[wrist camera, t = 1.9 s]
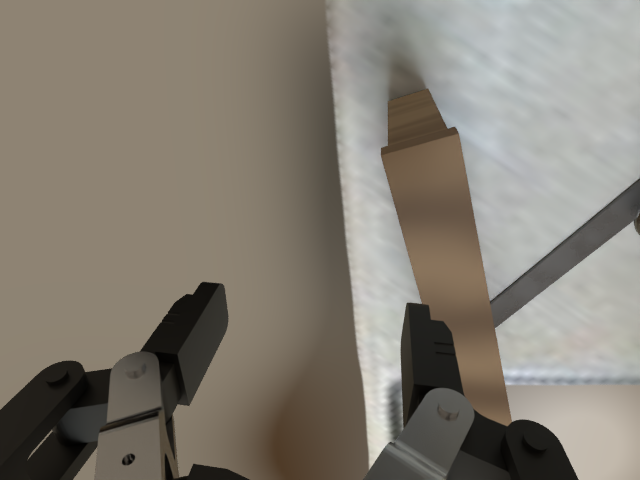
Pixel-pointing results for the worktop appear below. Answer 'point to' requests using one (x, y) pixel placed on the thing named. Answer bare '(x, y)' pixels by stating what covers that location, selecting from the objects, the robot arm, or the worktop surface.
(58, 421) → the robot arm
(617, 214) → the gate posts
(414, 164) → the gate
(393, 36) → the worktop surface
